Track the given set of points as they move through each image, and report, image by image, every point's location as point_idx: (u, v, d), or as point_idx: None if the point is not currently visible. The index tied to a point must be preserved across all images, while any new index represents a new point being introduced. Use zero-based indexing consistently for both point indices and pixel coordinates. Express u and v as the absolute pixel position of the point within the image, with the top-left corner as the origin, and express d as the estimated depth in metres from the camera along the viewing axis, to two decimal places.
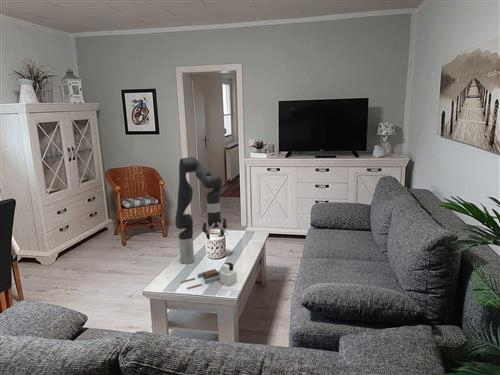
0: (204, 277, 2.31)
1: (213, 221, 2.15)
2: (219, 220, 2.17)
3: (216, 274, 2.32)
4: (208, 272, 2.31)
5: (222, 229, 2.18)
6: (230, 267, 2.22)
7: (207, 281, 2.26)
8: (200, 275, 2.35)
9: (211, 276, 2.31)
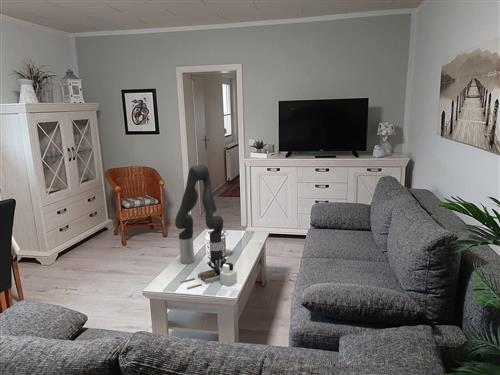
0: (202, 278, 2.30)
1: (215, 258, 2.32)
2: (221, 257, 2.34)
3: (214, 275, 2.32)
4: (206, 273, 2.31)
5: (218, 268, 2.34)
6: (230, 267, 2.22)
7: (207, 281, 2.26)
8: (200, 275, 2.35)
9: (209, 277, 2.30)
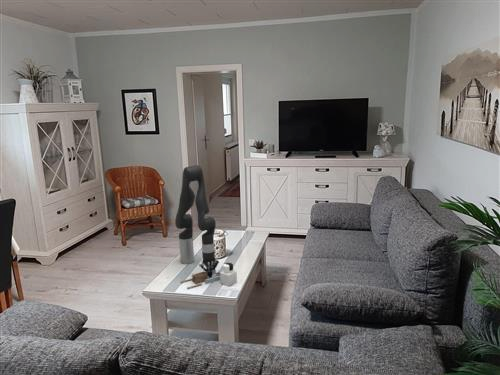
0: (193, 280, 2.27)
1: (208, 260, 2.29)
2: (214, 259, 2.31)
3: (206, 277, 2.29)
4: (197, 275, 2.28)
5: (211, 270, 2.31)
6: (230, 267, 2.22)
7: (207, 281, 2.26)
8: None
9: (200, 279, 2.27)
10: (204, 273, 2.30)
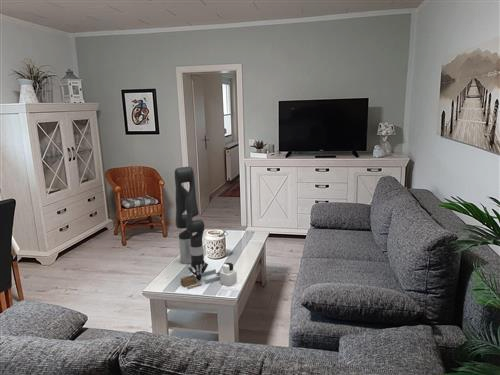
0: (182, 283, 2.24)
1: (196, 263, 2.25)
2: (203, 261, 2.27)
3: (194, 280, 2.25)
4: (186, 278, 2.24)
5: (199, 273, 2.27)
6: (230, 267, 2.22)
7: (207, 281, 2.26)
8: None
9: (189, 282, 2.23)
10: (193, 276, 2.26)
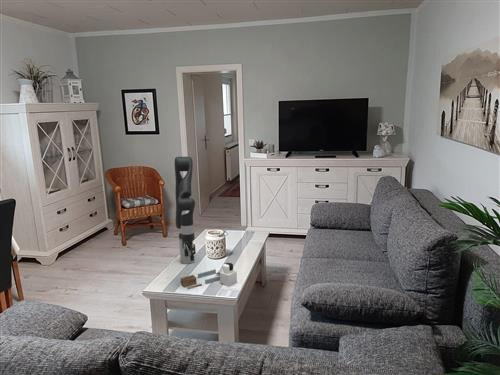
0: (182, 283, 2.24)
1: (185, 241, 2.22)
2: (188, 243, 2.19)
3: (194, 280, 2.25)
4: (186, 278, 2.24)
5: (189, 254, 2.18)
6: (230, 267, 2.22)
7: (207, 281, 2.26)
8: (200, 275, 2.35)
9: (189, 282, 2.23)
10: (193, 276, 2.26)
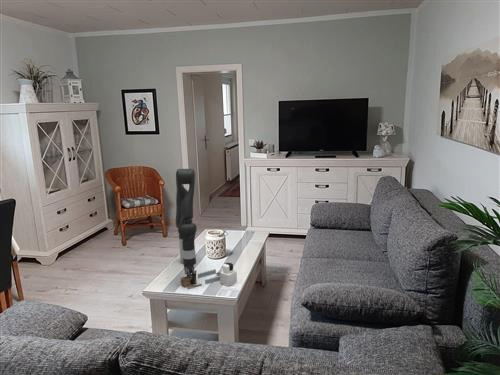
0: (182, 283, 2.24)
1: (187, 265, 2.25)
2: (190, 268, 2.21)
3: (194, 280, 2.25)
4: (186, 278, 2.24)
5: (190, 278, 2.23)
6: (230, 267, 2.22)
7: (207, 281, 2.26)
8: (200, 275, 2.35)
9: (189, 282, 2.23)
10: None
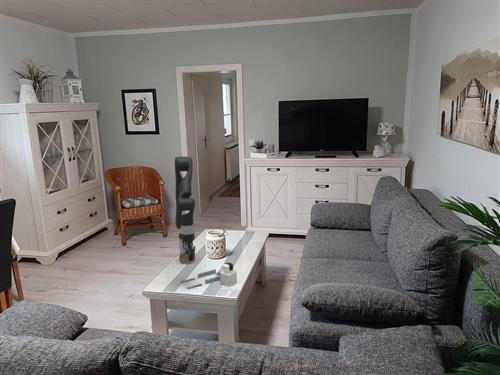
0: (180, 259, 2.21)
1: (185, 241, 2.22)
2: (188, 243, 2.19)
3: (193, 256, 2.22)
4: (184, 254, 2.21)
5: None
6: (230, 267, 2.22)
7: (207, 281, 2.26)
8: (200, 275, 2.35)
9: (188, 258, 2.21)
10: None
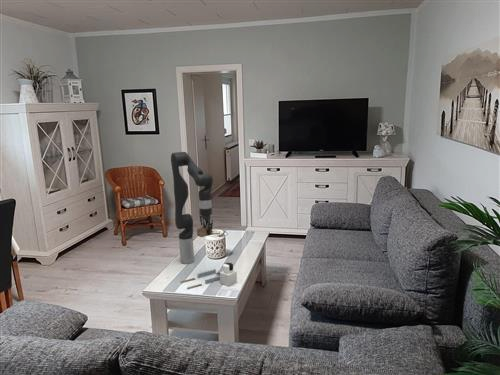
0: (198, 233, 2.29)
1: (203, 216, 2.30)
2: (206, 218, 2.27)
3: (210, 230, 2.30)
4: (202, 228, 2.29)
5: None
6: (230, 267, 2.22)
7: (207, 281, 2.26)
8: (200, 275, 2.35)
9: (205, 232, 2.29)
10: None
